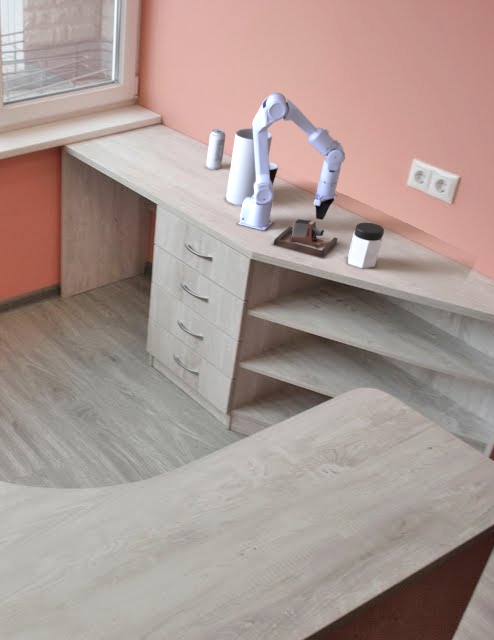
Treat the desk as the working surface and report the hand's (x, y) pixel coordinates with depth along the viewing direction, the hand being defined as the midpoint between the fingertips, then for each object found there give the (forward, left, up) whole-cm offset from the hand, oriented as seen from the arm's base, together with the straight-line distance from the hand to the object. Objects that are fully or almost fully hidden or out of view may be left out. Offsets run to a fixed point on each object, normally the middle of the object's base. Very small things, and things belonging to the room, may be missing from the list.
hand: (319, 218), depth 272 cm
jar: (+20, -16, -4) cm, 26 cm away
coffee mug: (-30, +23, -4) cm, 38 cm away
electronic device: (+1, -12, -4) cm, 13 cm away
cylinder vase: (-31, +9, -4) cm, 32 cm away
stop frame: (+1, -13, -4) cm, 14 cm away
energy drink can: (-55, +34, -4) cm, 65 cm away
